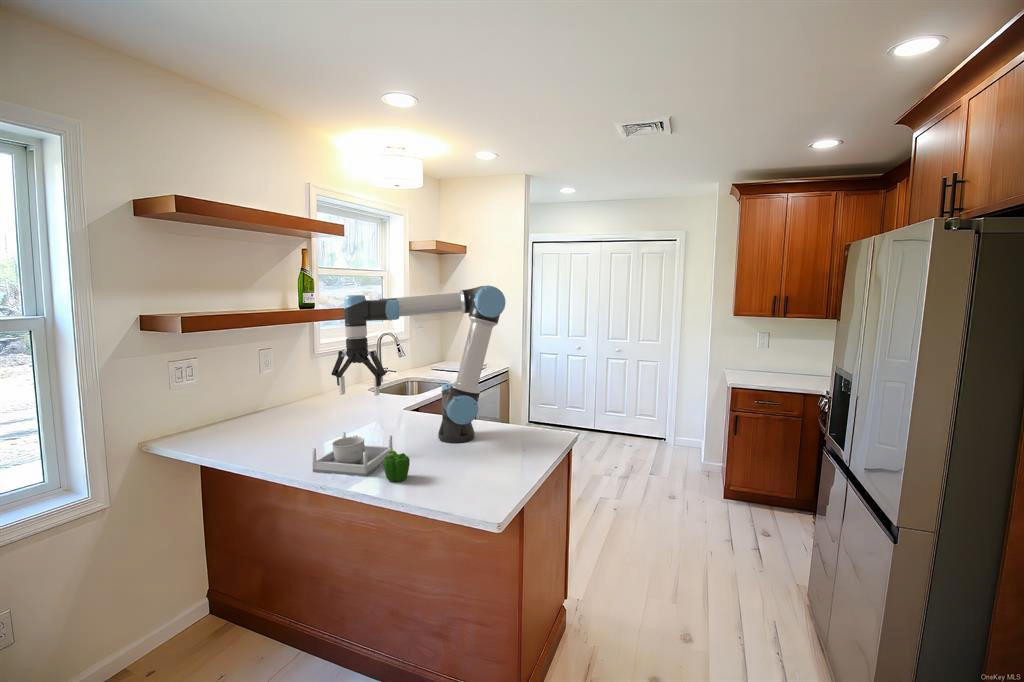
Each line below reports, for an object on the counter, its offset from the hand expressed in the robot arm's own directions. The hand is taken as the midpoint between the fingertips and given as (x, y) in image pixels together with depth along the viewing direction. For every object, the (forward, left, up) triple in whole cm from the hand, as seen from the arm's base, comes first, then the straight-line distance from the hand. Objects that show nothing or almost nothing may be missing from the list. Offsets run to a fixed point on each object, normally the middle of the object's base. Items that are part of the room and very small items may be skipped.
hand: (359, 394), depth 184 cm
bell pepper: (-23, +18, -24) cm, 38 cm away
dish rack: (-2, +8, -23) cm, 25 cm away
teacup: (-1, +8, -23) cm, 24 cm away
